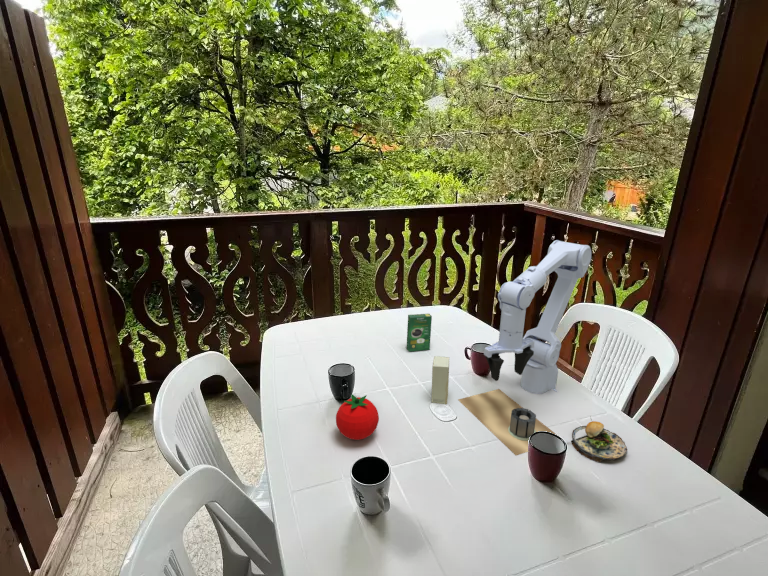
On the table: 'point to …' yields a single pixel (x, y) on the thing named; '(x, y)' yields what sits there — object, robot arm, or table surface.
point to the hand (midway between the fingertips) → (506, 375)
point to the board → (500, 418)
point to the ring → (522, 423)
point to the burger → (598, 443)
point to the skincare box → (440, 380)
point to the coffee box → (418, 332)
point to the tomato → (357, 418)
